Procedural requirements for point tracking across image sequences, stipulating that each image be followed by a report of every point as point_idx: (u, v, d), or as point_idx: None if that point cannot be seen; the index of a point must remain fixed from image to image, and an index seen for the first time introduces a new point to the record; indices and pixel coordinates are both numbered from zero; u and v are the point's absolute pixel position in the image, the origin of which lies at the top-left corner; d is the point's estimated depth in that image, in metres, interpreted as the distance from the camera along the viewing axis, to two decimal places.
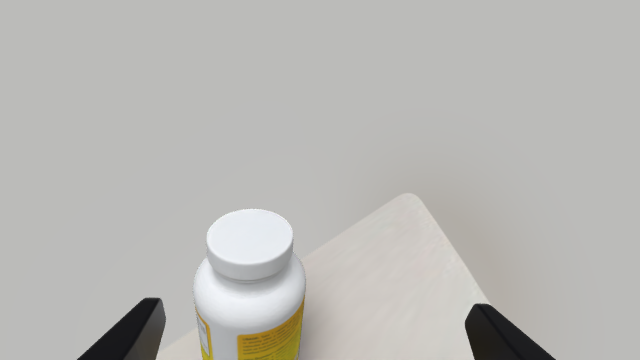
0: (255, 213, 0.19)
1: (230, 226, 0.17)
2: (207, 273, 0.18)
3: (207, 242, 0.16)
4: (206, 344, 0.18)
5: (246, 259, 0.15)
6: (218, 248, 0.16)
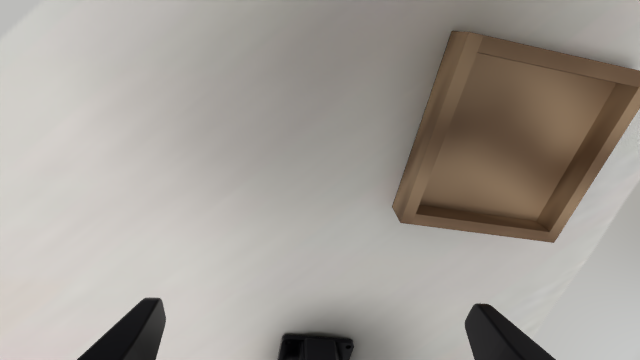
0: None
1: None
2: None
3: None
4: None
5: None
6: None
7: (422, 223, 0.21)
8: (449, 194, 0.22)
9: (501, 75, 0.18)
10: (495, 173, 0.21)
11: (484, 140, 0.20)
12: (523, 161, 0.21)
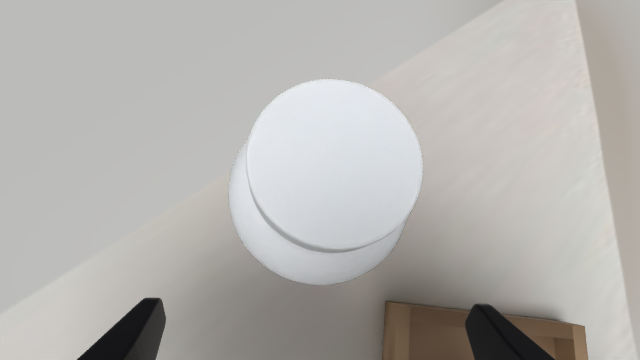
0: (345, 95, 0.09)
1: (294, 132, 0.08)
2: (250, 191, 0.10)
3: (248, 176, 0.08)
4: None
5: (329, 236, 0.07)
6: (272, 200, 0.08)
7: None
8: None
9: (443, 338, 0.19)
10: None
11: None
12: None
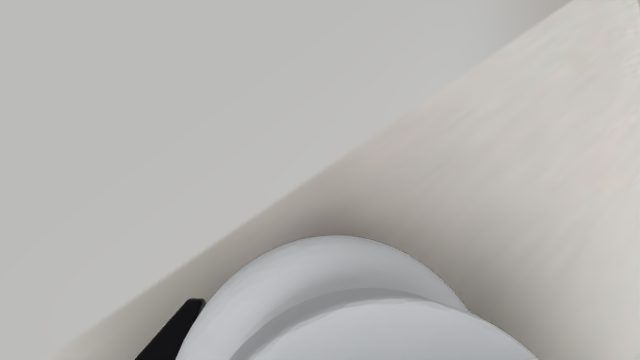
0: (421, 354, 0.03)
1: None
2: None
3: None
4: None
5: None
6: None
7: None
8: None
9: None
10: None
11: None
12: None
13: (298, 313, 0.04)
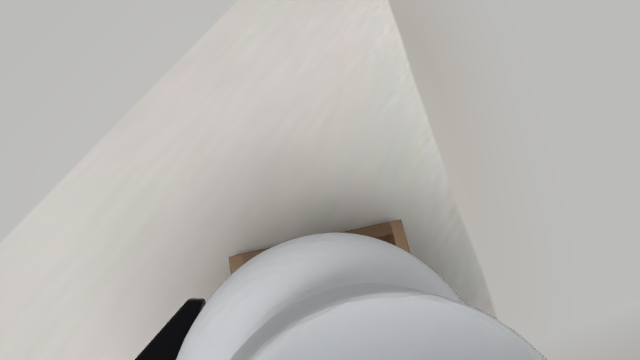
0: (424, 346, 0.03)
1: None
2: None
3: None
4: None
5: None
6: None
7: None
8: None
9: None
10: None
11: None
12: None
13: (303, 308, 0.04)
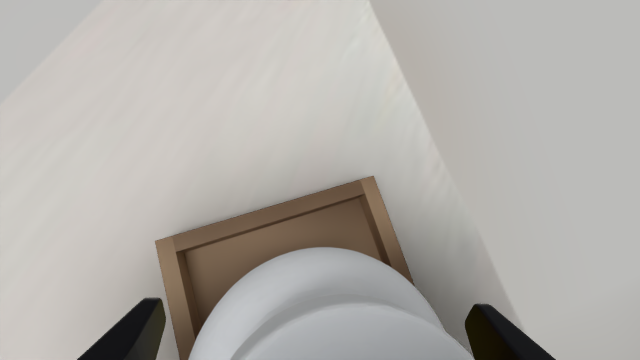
0: (376, 343, 0.04)
1: None
2: None
3: None
4: None
5: None
6: None
7: None
8: None
9: (239, 252, 0.17)
10: None
11: None
12: None
13: (290, 314, 0.05)
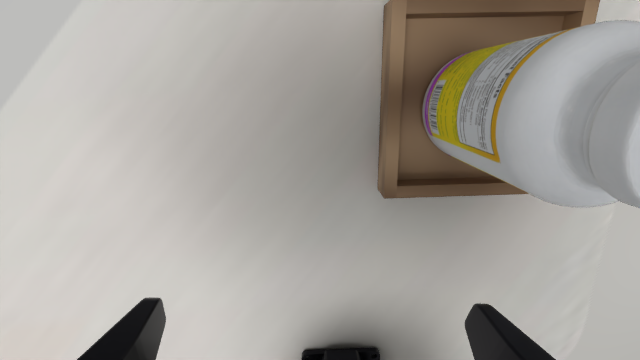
0: None
1: None
2: (554, 114, 0.10)
3: (630, 131, 0.08)
4: (469, 142, 0.14)
5: None
6: None
7: (407, 195, 0.20)
8: (430, 163, 0.21)
9: (443, 34, 0.19)
10: None
11: None
12: None
13: None
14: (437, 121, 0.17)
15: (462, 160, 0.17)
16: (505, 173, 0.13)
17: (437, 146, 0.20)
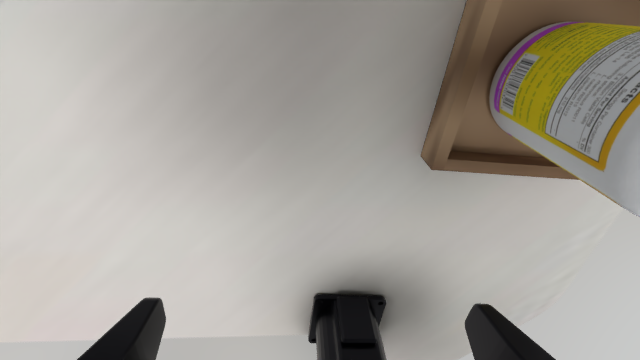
0: None
1: None
2: None
3: None
4: (561, 137, 0.13)
5: None
6: None
7: (454, 169, 0.20)
8: (482, 136, 0.20)
9: None
10: None
11: None
12: None
13: None
14: (515, 101, 0.16)
15: (529, 145, 0.17)
16: (602, 181, 0.12)
17: (497, 122, 0.19)
